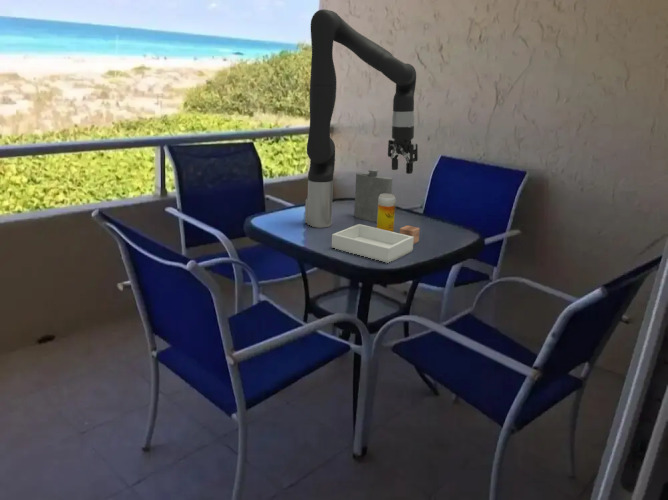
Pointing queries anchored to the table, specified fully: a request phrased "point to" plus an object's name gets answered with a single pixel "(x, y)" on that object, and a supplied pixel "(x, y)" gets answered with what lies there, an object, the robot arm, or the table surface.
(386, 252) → the tray
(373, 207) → the hip flask
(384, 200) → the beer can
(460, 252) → the table surface
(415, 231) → the wooden cube
